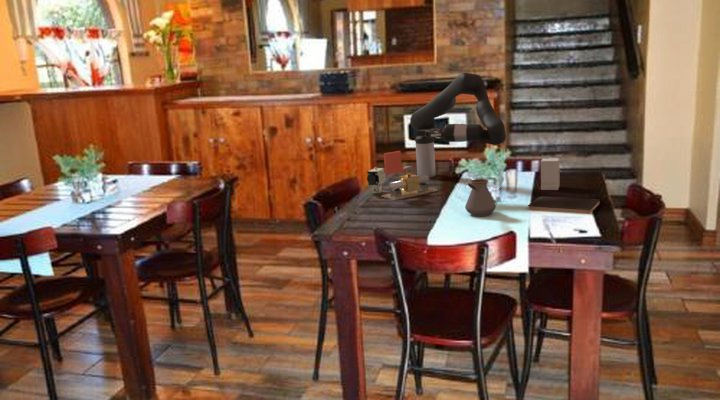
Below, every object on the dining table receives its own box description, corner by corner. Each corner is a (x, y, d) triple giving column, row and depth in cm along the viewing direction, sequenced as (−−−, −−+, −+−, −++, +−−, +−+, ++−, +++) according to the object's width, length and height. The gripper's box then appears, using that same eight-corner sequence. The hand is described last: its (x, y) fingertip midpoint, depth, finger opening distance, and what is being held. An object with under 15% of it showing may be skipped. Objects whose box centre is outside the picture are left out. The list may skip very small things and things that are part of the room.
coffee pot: (470, 209, 245) (468, 172, 242) (499, 210, 240) (498, 172, 237) (453, 224, 226) (452, 183, 223) (485, 225, 221) (483, 184, 218)
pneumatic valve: (367, 195, 284) (365, 169, 282) (378, 190, 294) (376, 165, 292) (378, 196, 282) (376, 169, 279) (389, 190, 292) (387, 165, 289)
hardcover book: (590, 215, 226) (590, 209, 225) (527, 211, 238) (527, 205, 238) (600, 205, 239) (600, 199, 238) (540, 201, 251) (540, 196, 251)
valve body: (424, 187, 291) (422, 165, 289) (437, 190, 283) (436, 168, 280) (381, 197, 279) (379, 174, 277) (394, 200, 271) (392, 176, 268)
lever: (409, 169, 281) (407, 148, 279) (414, 170, 278) (413, 149, 276) (383, 174, 274) (381, 153, 272) (388, 175, 270) (387, 154, 268)
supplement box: (558, 190, 266) (558, 160, 263) (540, 190, 269) (540, 161, 266) (560, 186, 273) (559, 157, 270) (542, 186, 275) (542, 158, 273)
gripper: (460, 121, 267) (420, 122, 273) (453, 126, 255) (412, 126, 261) (460, 139, 269) (421, 139, 275) (453, 144, 257) (413, 144, 263)
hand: (417, 133), depth 268 cm, fingers closed
